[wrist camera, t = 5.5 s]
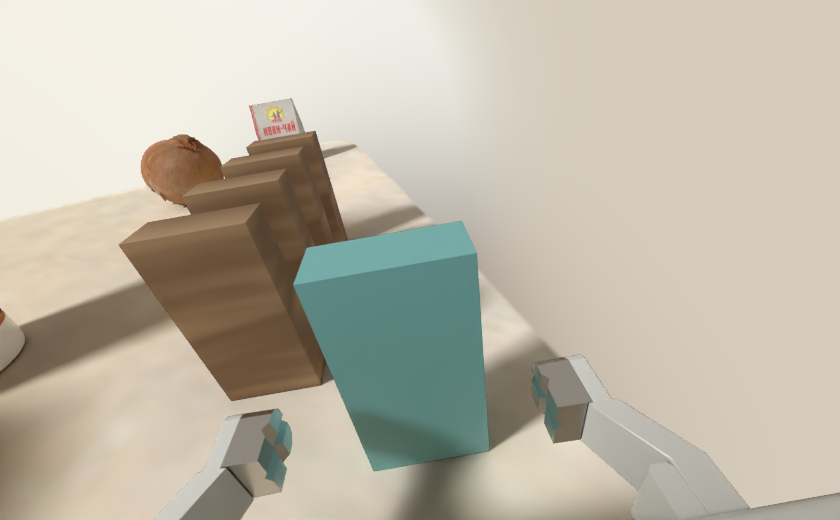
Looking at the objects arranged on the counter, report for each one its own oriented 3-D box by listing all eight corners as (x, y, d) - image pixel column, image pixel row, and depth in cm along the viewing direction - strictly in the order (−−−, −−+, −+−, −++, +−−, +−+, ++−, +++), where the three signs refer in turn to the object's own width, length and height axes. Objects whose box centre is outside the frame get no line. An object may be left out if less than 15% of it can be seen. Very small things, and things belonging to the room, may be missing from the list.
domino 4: (345, 248, 31) (311, 136, 26) (291, 257, 31) (246, 147, 26) (347, 237, 33) (315, 130, 28) (296, 246, 33) (254, 141, 28)
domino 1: (332, 322, 23) (277, 180, 18) (258, 335, 23) (181, 196, 18) (335, 303, 25) (286, 168, 19) (266, 315, 25) (198, 183, 19)
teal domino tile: (489, 450, 15) (476, 252, 9) (373, 471, 15) (293, 285, 9) (478, 408, 16) (461, 220, 11) (374, 427, 16) (306, 247, 11)
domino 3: (339, 279, 27) (297, 153, 22) (277, 290, 27) (220, 167, 22) (342, 265, 29) (303, 146, 24) (283, 276, 29) (231, 158, 23)
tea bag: (275, 164, 61) (252, 104, 56) (312, 157, 62) (293, 97, 56) (270, 170, 58) (245, 107, 53) (309, 163, 59) (289, 99, 53)
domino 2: (321, 385, 19) (245, 222, 13) (231, 400, 19) (118, 244, 13) (326, 357, 20) (260, 202, 15) (243, 371, 20) (147, 222, 15)
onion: (235, 211, 52) (241, 147, 48) (171, 224, 44) (170, 148, 40) (194, 186, 55) (195, 123, 51) (126, 194, 47) (120, 120, 42)
